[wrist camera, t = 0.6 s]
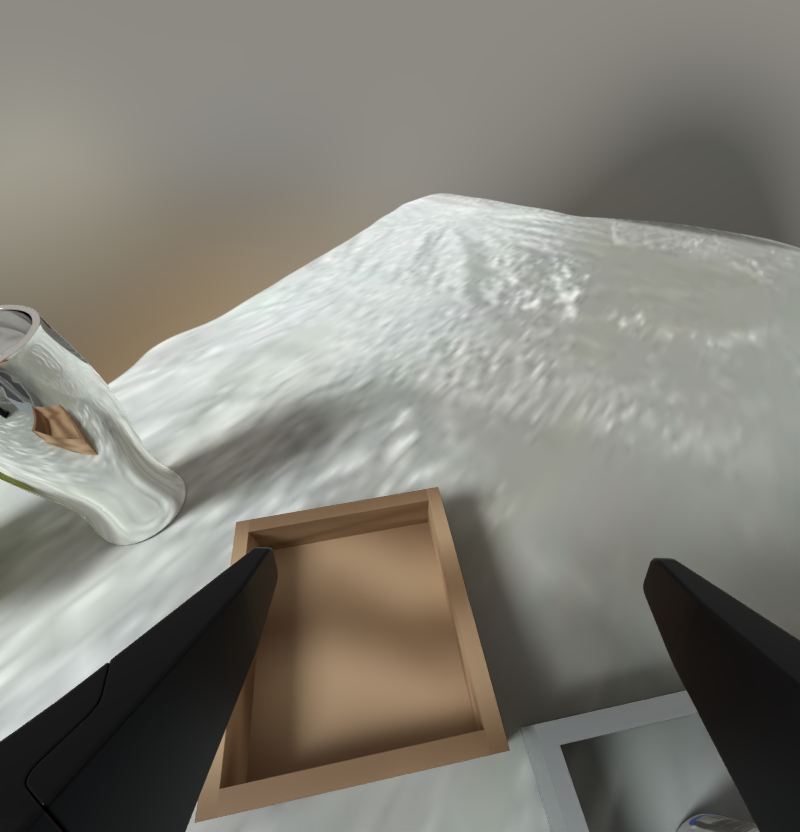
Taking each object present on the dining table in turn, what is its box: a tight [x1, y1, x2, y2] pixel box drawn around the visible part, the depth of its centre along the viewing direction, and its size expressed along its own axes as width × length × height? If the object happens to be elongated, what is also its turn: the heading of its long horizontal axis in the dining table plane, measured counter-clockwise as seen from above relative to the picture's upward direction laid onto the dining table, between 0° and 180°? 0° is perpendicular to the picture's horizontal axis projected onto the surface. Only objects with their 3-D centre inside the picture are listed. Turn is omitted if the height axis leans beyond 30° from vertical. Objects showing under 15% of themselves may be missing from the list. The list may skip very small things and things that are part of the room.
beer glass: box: [0, 305, 186, 545], centre depth 22 cm, size 7×7×15 cm
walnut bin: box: [195, 487, 509, 823], centre depth 20 cm, size 13×13×4 cm
